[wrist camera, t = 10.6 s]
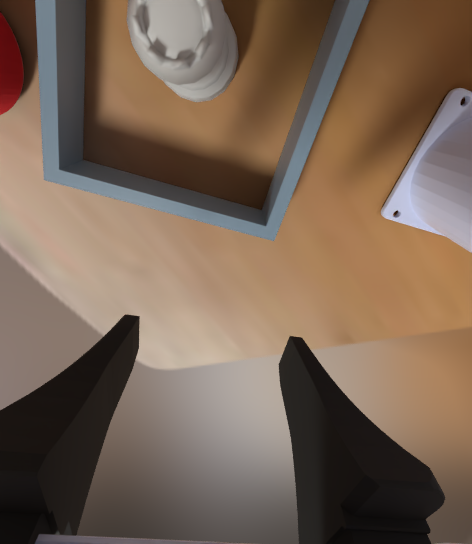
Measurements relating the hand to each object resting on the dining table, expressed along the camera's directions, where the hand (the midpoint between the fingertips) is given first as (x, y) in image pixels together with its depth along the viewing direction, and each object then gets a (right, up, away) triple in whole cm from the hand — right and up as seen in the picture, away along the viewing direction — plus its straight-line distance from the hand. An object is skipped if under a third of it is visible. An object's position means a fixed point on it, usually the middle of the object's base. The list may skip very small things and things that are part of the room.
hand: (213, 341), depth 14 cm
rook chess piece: (-1, +15, +2) cm, 15 cm away
